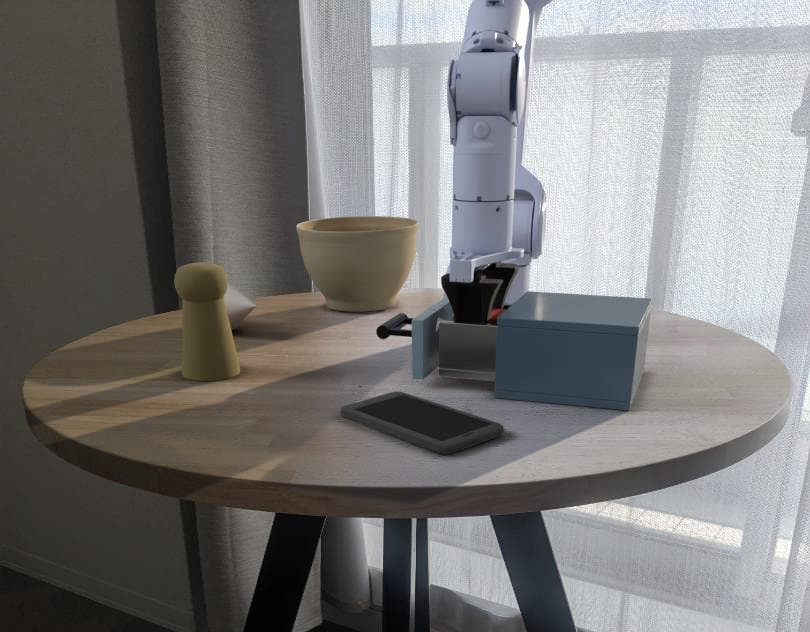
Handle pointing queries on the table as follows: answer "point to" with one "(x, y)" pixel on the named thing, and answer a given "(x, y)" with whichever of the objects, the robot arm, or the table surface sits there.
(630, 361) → the cabinet
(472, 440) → the cell phone
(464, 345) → the drawer
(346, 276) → the planter bowl
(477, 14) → the robot arm
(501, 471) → the table surface
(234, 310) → the grey cone
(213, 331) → the cork
